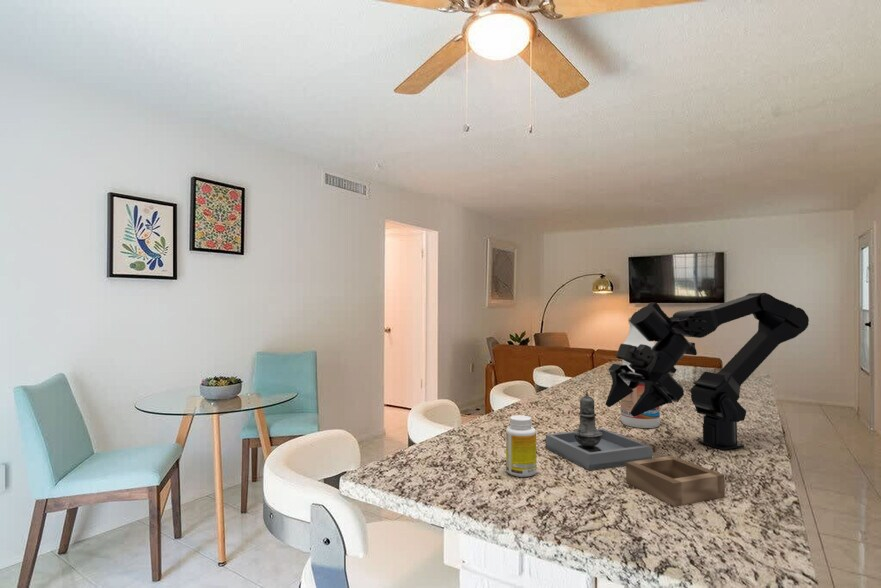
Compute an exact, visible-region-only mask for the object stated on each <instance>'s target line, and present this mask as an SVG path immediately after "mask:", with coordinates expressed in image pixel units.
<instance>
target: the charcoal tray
mask: <svg viewBox="0 0 881 588" xmlns="http://www.w3.org/2000/svg"><path fill="white" fill-rule="evenodd" d="M596 429H597V430H598V431H600V432H602V434H603V435H602V436H601V440H600V442H599V443H598V444H597V445H595V446H596V447H598V448H599V449H601V451H597V452H588V451H586V450H584V449H581V448H579V447H577V446H579V445H581V444H579V443H578V442H577V441H576V439H575V434H574V433H573V431H563V432H556V433H546V434H545V449H546V450H548V451H551V452H552V453H554V454H556V455H558V456H560V457H562V458H563V459H565V460H568V461H570V462H571V463H574V464H576V465H577V466H579V467H580V468H583V469H585V470H587V471H596V470H603V469H609V468H611V469H612V468H617V467H624V466H625V467H626V462H632V461H639V460H646V459H653V446H652V445H649V444H648V443H647V444H646V443H644V442H642V441H639V440H636V439H633V438H630V437H627V436H624V435H623V434H619V433H616V432H614V431H611V430H608V429H605V428H603V427H602V428H601V427H600V428H596Z"/></svg>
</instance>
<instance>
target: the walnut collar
mask: <svg viewBox="0 0 881 588" xmlns="http://www.w3.org/2000/svg"><path fill="white" fill-rule="evenodd" d="M625 481H626V482H625V483H626V484H629V485H630V486H632V487H635V488H637V489H638V490H641V491H642V492H644V493H647V494H649V495H651V496H652V497H654V498H656V499H659V500H660V501H662V502H665V503H667V504H669V505H671V506H673V507H678V506H682V505H684V506H685V505H688V504H694V503H700V502H705V501H710V500H714V499H715V500H716V499H721V498H726V497H725V496H726V493H725V491H726V490H725V487H726V486H725V474H722V473H720V472H718V471H714V470H712V469H709V468H706V467H703V466H701V465H698V464H696V463H693V462H690V461H687V460H684V459H682V458H680V457H677V456H674V455H668V456H662V457H655V458H653V457H652V459H646V460H639V461H632V462H626V465H625Z"/></svg>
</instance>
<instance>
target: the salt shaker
mask: <svg viewBox="0 0 881 588" xmlns="http://www.w3.org/2000/svg"><path fill="white" fill-rule="evenodd" d="M578 415H579V425H578V429H575V430H573V431H572V432H573V433H574V434H575V439H576V441H577V442H578V443H579V444H581V445H579V446H577V447H579V448H581V449H584V450H586V451H588V452H597V451H601V449H599V448H598V447H596V446H595V445H597V444H598V443H599V442H600V440H601V436H602V435H603V434H602V432H600V431H598V430H597V429H598V428H597V427H596V417H597V414H596V413H595V399H594V398H593V397H592V396H590V395H589V393H588V392H587V391H586V392H585V395H584V396H582V397H581V398H580V400H579V413H578Z"/></svg>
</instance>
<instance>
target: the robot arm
mask: <svg viewBox="0 0 881 588" xmlns="http://www.w3.org/2000/svg"><path fill="white" fill-rule="evenodd" d="M751 315H752V316H753V317H754V319H755V320H757V321H758V324H757V331H756V333H755V334H753V335H752V337H751V338H750V339H749V340H747V342H746V343H745V344H744V345H743V346H742V347H741V348H740V349H739V350H738V352H736V354H735V355H734V356H733V357H732V358H731V359H730V360H729V361H728V362H727V363H726V364H725V365H724V366H723V367H722V368H721V369H720V370H719V371H718V372H710V371H704V372H703V373H701V375H700V377H699V378H698V379H697V380H695V381H693V382H692V384H693V386H692V388H691V389H690V398H691V402H692V403H693V405H694V407H695V411H696V413H697V414H701V415H704V416H702V417H703V422H702V439H698V440H697V443H699V444H700V443H701V444H703V445H706V446H710V447H713V448H716V449H719V450H724V451H725V450H731V449H739V448H744V447H745V445H744V444H743V443H740V442H738V423H740V422H741V421H742V422H744V421H745V419H746V415H747V410H746V409H745V408H744V407H743V406H742V405H741V404H740V403H739V402H738V400H739V398H740V395H741V394H740V393H741V386H742V385H743V384H744V383H745V382H746V381H747V380H748V378H749V377H750V376H751V375H752V374H753V373H754V372H755V371H756V370H757V369H758V368H759V367H760V366H761V364H762V363H764V362H765V360H766V359H767V358H768V357H769V356H770V355H771V354H772V353H773V351H775V349H777V347H779V345H780V344H783V343H785V342H787V341H790V340H792V339H795V338H796V337H799V336H800V335H801V334H802V333H804V332H805V331H806V330H807V329H808V327H809V321H810V320H809V316H808V314H807V313H806V311H805V310H804V309H803V308H801V307H798V306H796V305H794V304H792V303H789V302H787V301H783V300H781V299H778V298H777V297H774V296H773V295H771V294H769V293H767V292H753V293H752V292H751V293H748V294H746V295H744V296H741V297H738V298H734V299H732V300H729V301H726V302H723V303H720V304H717V305H714V306H710V307H707V308H701V309H697V308H696V309H688V310H679V311H676V312H675V313H673V314H672V316H671V317H670V316H668V315H667V314H666V313H665V312H664V310H662V308H661V307H660V305H659V304H658V303H657V302H649V303H648V304H647V305H646V306H644V307H641V308H640V309H638V310H637V311H635V312H634V313H633V314H632V315H631V319H630V322H631V324H632V325H633V326H634V327H635V328H636V329H637V330H638V331H639V332H640V333H641V334H642V335H643V336H644V337H645V338H646V340H647V341H653V342H655V345H654V346H653V347H652V349H651V347H649V346H647V345H643V344H640V345H639V346H638V347H636V346H632V345H628V344H623V343H620V345H619V347H618V350H617V352H616V355H615V358H617V359H619V360H620V359H621V360H622V359H623V360H625V361H627V362H629V363H631V364H630V365H629V366H630V367H631V368H632V369H634V370H635V371H634V372H635V373H634V372H633V371H632V370H631V369H630V368H629V367H628V366H627V365H623V364H622V363H612V364H611V366H610V367H609V368H608V372H609V375H610V377H611V380H612V383H611V387H610V390H609V393H608V396H607V398H606V401H605V406H606V407H607V408H611V407H613V406H614V405H616V404H617V403H619V402H621V400H622V399H623V398H625V397H626V396H628V395H629V394H631V393H632V392H633V390H632V389H634V388H636V387H637V386H638V385H639V383H640V384H643V385H645V388H644V392H643V394H642V395H641V397H640V398H639V399H638V401H637V402H636V404H635V405H634V407H633V409H632V410H631V412H630V414H631V415H632V416H634V417H635V416H637V415H640V414H642V413H644V412H647V411H649V410H652V409H654V408H657V407H659V406H660V407H661V406H664V405H667V404H672V403H673V402H676V403H679V402H680V400H681V399H682V398H683V396H684V387H682V386H681V385H680V384H679V382H678V381H677V380H676V379H674V377H673V376H672V375H671V374H675V373H676V372H677V369H676V367H675V366H676V365H677V363H678V362H679V361H680V359H682V358H683V356H684V355H688V356H697V355H698V352H697V349H696V343H695V342H690V341H689V340H688V339H687V338H698V339H701V338H706V337H707V336H708V335H710V334H712V333H714V332H715V331H716V330H717V329H718V328H719V326H722V325H723V324H727V323H730V322H733V321H735V320H738V319H741V318H745V317H747V316H751Z"/></svg>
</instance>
